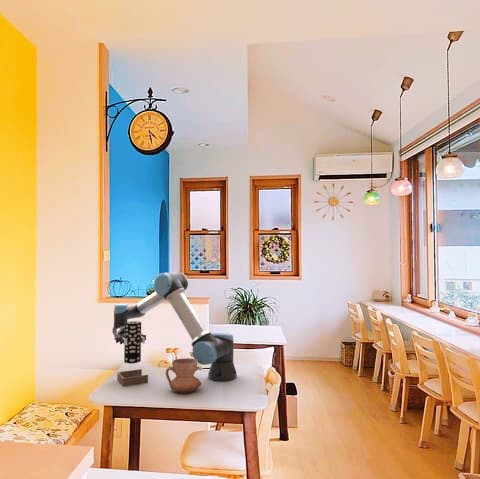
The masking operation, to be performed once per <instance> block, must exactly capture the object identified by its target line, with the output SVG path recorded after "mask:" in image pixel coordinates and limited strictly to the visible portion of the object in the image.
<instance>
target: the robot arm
mask: <svg viewBox="0 0 480 479" xmlns="http://www.w3.org/2000/svg"><path fill="white" fill-rule="evenodd" d="M153 282H154V283H153V290H154V292H153V293H151V294H150V295H148V296H145V298H143V299H142V300H141V301H139V302H137V303H136V304H133V305H130V306H129V305H128V304H127V303H117V304H115V305H114V307H113V327H112V329H111V331H112V334H113V336H114V340H115V343H116V344H118V343H119V345H123V346H124V345H127V339H125V322H128V320H132V319H138V318H139V319H140V318H141V317H144V316H145V315H146V314H147V312H150V311H151V310H153V309H154V308H156V307H157V306H159V305H161V304H162V303H164V302H168V303H170V305H171V307H172V308H173V310H174V312H175V314H176V315H177V317H178V319H179V320H180V322H181V324H182V325H183V327H184V328H185V331H186V332H187V334H188V335H189V337H190V339H191V346H192V353H191V354H192V357H193V359H197V360H198V363H197V364H199V365H203V366H204V365H205V366H207V365H210V367H209V370H208V377H207V378H208V379H209V380H211V381H217V382H226V381H227V382H228V381H233V380H235V379H237V374H238V373H237V369H236V367H235V366H236V365H235V363H234V341H235V340H234V335H233V334H232V333H231V334H230V333H222V332H221V333H220V332H219V333H217V332H215V333H213V332H211V331H208V330H207V329H206V328H205V326H204V324H203V322H202V321H201V319H200V318H199V316H198V315H197V313H196V312H195V310H194V308H193V306H192V305H191V303H190V301H189V300H188V298H187V296H186V295H185V291H186V290H187V289H188V287H189V279H188V277H187V276H186V274H184V273H183V272H179V271H176V272H175V271H174V272H162V273H159V274H158V275H156V277H155V279H154V281H153ZM146 341H147V335H146V334H143V333H141V344H145V342H146Z"/></svg>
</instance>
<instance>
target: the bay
mask: <svg viewBox="0 0 480 479" xmlns="http://www.w3.org/2000/svg"><path fill="white" fill-rule="evenodd" d="M142 370H143V369H141V368H140V369H139V368H138V369H133V370H132V369H131V370H125V371H119V372H117V373H116V374H117V376H116V377H117V378H116V381H117V382H119V384H120V385H121V387H122V388H124V387H132V386H136V385H137V386H138V385H145V384H148V383H149V374H143V373H142V372H143V371H142ZM142 374H143V375H142Z"/></svg>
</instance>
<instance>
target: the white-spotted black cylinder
mask: <svg viewBox="0 0 480 479" xmlns="http://www.w3.org/2000/svg"><path fill="white" fill-rule="evenodd" d="M141 334H142V321H139V320H138V321H137V320H135V321H127V322H125V339H127V345H124V344H123V347H124V349H123V350H124V351H123V352H124V355H123V362H124V363H125V364H137V363H140V362H141V361H142V342H141Z"/></svg>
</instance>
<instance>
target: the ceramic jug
mask: <svg viewBox="0 0 480 479" xmlns="http://www.w3.org/2000/svg"><path fill="white" fill-rule="evenodd" d="M171 364H172V366H168V367H167V368H166V370H165V377H166V379H167V382H168V385H169V387H170V389H171V390H172V391H174V392H176V393H180V394H187V393H192V392H195V391H196V390H198V389H199V388H200V387H201V385H202V382H201V381H200V379H199V378H198V377H197V376H195V374H196V372H197V371H198V370H200V371H202V369H203V367H202V366H198V364H199V363H198V360H197V359H194V357H193V358H189V357H187V358H176V359H173V360H172V363H171ZM169 371H172V372H174V374H175V375H176V376H175V377H174V378H173V379H170V378H171V377H170V375H169Z"/></svg>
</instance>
